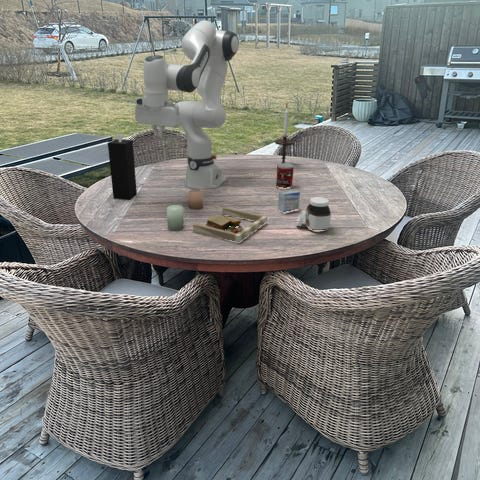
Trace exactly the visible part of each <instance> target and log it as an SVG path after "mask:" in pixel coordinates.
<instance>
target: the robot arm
mask: <svg viewBox="0 0 480 480" xmlns="http://www.w3.org/2000/svg"><path fill="white" fill-rule="evenodd" d="M181 49H182V52H183V53H184V55H185V56H186V57H187V58H188V59H189V60H191V62H190V63H189V64H172V63H169V62H167V61H166V60H165V57H164V56H163V55H159V54H157V55H156V54H155V55H154V54H153V55H149V56H146V57H145V58H144V61H143V68H142V69H143V70H142V71H143V75H142V76H143V83H144V87H145V88H144V96H141V97H138V98H135V99H134V104H135V107H134V116H135V117H134V118H135V121H136V123H138V124H143V125H150V126H151V129H152V131H153V132H154V134H153V135H154V137H156V138H163V137H164V131H165V128H171V129H176V128H179V127H181V128H182V130H183V132H184V134H185V137H186V141H187V158H186V160H187V166H186V168H185V169H186V171H185V178H184V180H183V182H184V183H185V186H186V187H188V188H191V189H194V190H203V189H204V190H205V189H207V190H208V189H217V188H219V187H220V186H222V185H223V184H224V183H225V182H226V181H227V177H225V176H223V172H222V169H221V168H220V167H219V166H218V165H217V164H215V161H214V160H217V155H215V154H213V153H212V151H213V149H212V143H213V142H212V139H211V137H210V136H208V134H206V133H205V132H204V129H203V128H208V129H215V128H220V127H222V126H223V125H224V124H225V121H226V119H227V118H226V117H227V113H226V109H225V108H224V106H223V105H222V103H221V101H220V98H221V93H222V89H223V87H224V83H225V81H226V77H227V74H228V67H229V63H228V62H229V61H231V60H232V58H233V57H234V56H235V55H236V54H237V52H238V49H239V38H238V35H237V33H235V32H233V31H231V30H220V29H216V27H215V25H214V24H213V23H212V22H211V21H210V20H206V19H204V20H200V21H199V22H196V23H195V24H194V25H192V27H191V28H190V29H189V30H188V31H187V32H186V33H185V35H184V36H183V38H182V40H181ZM195 90H197V93H198V95H199V96H200V97H201V98H202V99H201V100H200V101H198V100H197V101H196V100H182V101H178V102H177V103H176V102H169V92H168V91H175V92H176V91H177V92H178V91H179V92H183V93H188V94H189V93H193V92H195ZM158 129H159V130H158ZM223 182H224V183H223Z"/></svg>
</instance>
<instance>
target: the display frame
mask: <svg viewBox="0 0 480 480" xmlns="http://www.w3.org/2000/svg"><path fill="white" fill-rule="evenodd" d="M221 210H222V211H221V215H222V214H223V215H222V216H224V215H229V216H234V217H239V218H244V219H250V220H254V221H255V222H252V223H251V224H250V225H248V226H247V227H245V228H244V229H243V230H242V231H241V232H239V233H238V234H236V233H232V232H228V231H224V230H220V229H216V228H212V227H208V226H206V225H203V224H200V223H196V222H195V223H194V224H192V233H195V234H199V235H202V234H204V235H203V236H206V235H208V236H207V237H210V236H212V237H211V238H214V237H217V238H216V239H218V238H222V239H227V240H232V241H236V242H240V241H241V240H243V239H244V238H245V237H247V236H248V235H250V234H251V233H252V232H254V231H255V230H256V229H258V228H259V227H260V226H261V225H263V224H264V223H265V222H267V223H268V216H267V215H262V214H257V213H253V212H249V211H244V210H239V209H234V208H231V207H226V206H223V207H222V209H221ZM229 216H228V217H229ZM222 239H221V240H222Z"/></svg>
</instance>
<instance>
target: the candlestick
mask: <svg viewBox="0 0 480 480" xmlns="http://www.w3.org/2000/svg"><path fill="white" fill-rule="evenodd" d="M285 107H286V108H285V110H284V120H283V135H281V137H282V138H280V139H279V138H278V139H275V140H274V144H275V145H279V146H282V152H281V156H282V157H281V160H282V162H281V163H286V159H287V157H286V156H287V152H286V148H287V146H294V145H295V143H296V141H295V140H293V139H290V138H289V136H288V125H289V124H288V123H289V122H288V121H289V111H288V102H286V104H285ZM288 138H289V139H288Z"/></svg>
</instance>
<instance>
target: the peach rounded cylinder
mask: <svg viewBox="0 0 480 480" xmlns="http://www.w3.org/2000/svg"><path fill="white" fill-rule="evenodd" d="M203 194H204V192H203V189H190V190H188V209H190V210H191V211H192V210H193V211H200V210H202V209H203V208H204V195H203Z"/></svg>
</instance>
